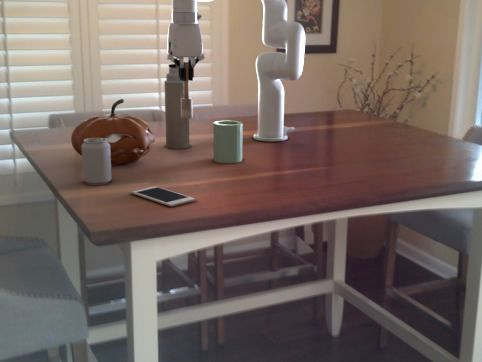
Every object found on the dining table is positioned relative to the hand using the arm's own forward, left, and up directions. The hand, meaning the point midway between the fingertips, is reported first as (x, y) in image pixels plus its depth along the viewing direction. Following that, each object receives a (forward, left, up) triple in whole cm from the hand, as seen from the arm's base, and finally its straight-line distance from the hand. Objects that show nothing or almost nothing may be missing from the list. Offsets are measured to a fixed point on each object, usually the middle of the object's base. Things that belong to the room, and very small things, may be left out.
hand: (186, 80), depth 204 cm
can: (+33, +14, -25) cm, 44 cm away
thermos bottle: (-5, -20, -25) cm, 33 cm away
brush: (0, 0, -12) cm, 12 cm away
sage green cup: (-11, +6, -25) cm, 28 cm away
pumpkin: (+21, -8, -25) cm, 34 cm away
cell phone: (+23, +36, -25) cm, 49 cm away
